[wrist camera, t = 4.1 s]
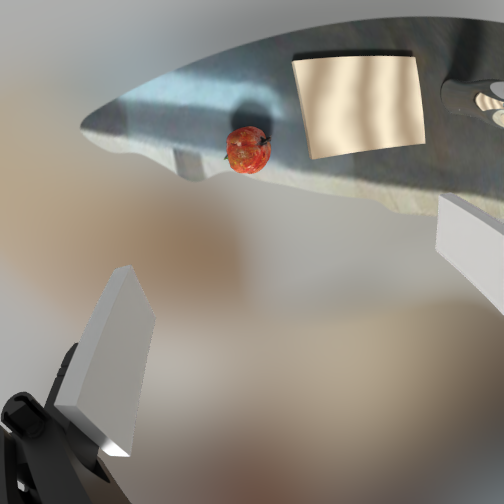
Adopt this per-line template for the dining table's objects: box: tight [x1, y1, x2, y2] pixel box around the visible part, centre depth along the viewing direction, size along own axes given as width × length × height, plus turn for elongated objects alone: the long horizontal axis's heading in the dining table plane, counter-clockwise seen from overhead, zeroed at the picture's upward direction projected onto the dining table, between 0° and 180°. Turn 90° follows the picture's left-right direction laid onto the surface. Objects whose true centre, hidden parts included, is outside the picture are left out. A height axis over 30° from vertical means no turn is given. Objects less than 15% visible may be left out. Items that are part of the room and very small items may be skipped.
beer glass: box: [441, 79, 504, 130], centre depth 28 cm, size 7×7×15 cm
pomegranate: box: [224, 126, 271, 174], centre depth 35 cm, size 6×6×8 cm
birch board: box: [292, 56, 425, 159], centre depth 35 cm, size 18×13×1 cm
